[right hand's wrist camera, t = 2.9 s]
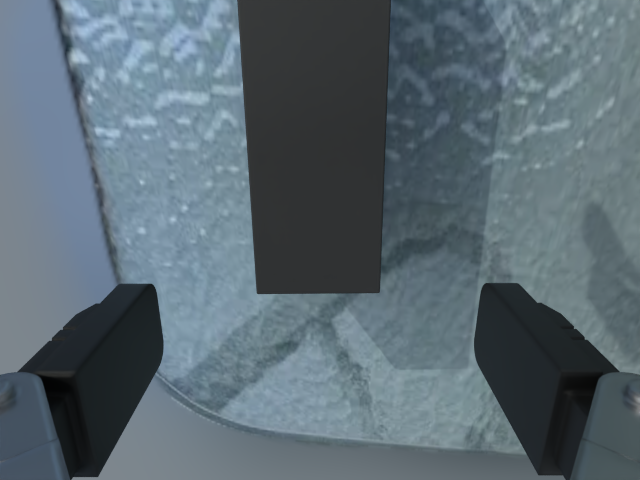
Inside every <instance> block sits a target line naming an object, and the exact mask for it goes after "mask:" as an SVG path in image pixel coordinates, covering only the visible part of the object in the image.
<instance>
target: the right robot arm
mask: <svg viewBox="0 0 640 480" xmlns="http://www.w3.org/2000/svg"><path fill="white" fill-rule="evenodd" d="M474 350H475V357H476V361H477V363H478V366H479V368H480V369H481V371H482V373H483V375H484V377H485V379H486V380H487V382H488V384H489V386H490V388H491V389H492V391H493V393H494V395H495V397H496V399H497V400H498V402H499V404H500V406H501V408H502V410H503V411H504V413H505V415H506V417H507V419H508V421H509V422H510V424H511V426H512V428H513V430H514V431H515V433H516V435H517V437H518V439H519V441H520V442H521V444H522V446H523V448H524V450H525V452H526V453H527V455H528V457H529V459H530V461H531V463H532V464H533V466H534V468H535V470H536V472H537V473H538V475H563V476H564V478H565V479H566V480H640V375H638V374H633V373H626V372H619V371H618V370H617V369H616V368H615V367H614V366H613V365H612V364H611V363H610V362H609V361H608V360H607V359H606V358H605V357H604V356H603V355H602V354H601V353H600V352H599V351H598V350H597V349H596V348H595V347H594V346H593V345H592V344H591V343H590V342H589V341H588V340H585V337H584V336H583V335H582V334H581V333H580V332H579V331H578V330H577V329H574V326H573V325H572V324H571V323H570V322H569V321H568V320H567V319H566V318H565V317H564V316H563V315H562V314H560V313H559V312H557V311H555V310H553V309H551V308H550V307H548V306H546V305H544V304H542V303H537V302H536V301H535V300H534V299H533V298H532V297H531V296H530V295H529V294H528V293H527V292H526V291H525V290H524V289H523V288H522V287H521V286H520V285H519V284H518V283H485V284H484V285H483V287H482V290H481V294H480V302H479V309H478V316H477V323H476V331H475V338H474ZM162 356H163V334H162V327H161V320H160V313H159V306H158V298H157V292H156V289H155V287H154V285H153V284H119V285H118V286H116V287H115V289H114V290H113V291H112V292H111V293H110V294H109V295H108V296H107V297H106V298H105V299H104V300H103V301H102V302H101V303H100V304H94V305H93V306H91V307H89V308H87V309H85V310H83V311H82V312H80V313H78V314H76V315H75V316H74V317H73V318H72V319H71V320H70V321H69V322H68V323H67V324H66V325H65V326H64V327H63V330H60V331H59V332H58V333H57V334H56V335H55V336H54V337H53V338H52V341H49V342H48V343H47V344H46V345H45V346H43V347H42V348H41V349H40V350H39V351H38V352H37V353H36V354H35V355H34V356H33V357H32V358H31V359H30V360H29V361H28V362H27V363H26V364H25V365H24V366H23V367H22V368H21V369H20V370H19V371H18V372H14V373H7V374H2V375H0V480H71V479H72V478H73V477H98V476H99V474H100V472H101V470H102V469H103V467H104V465H105V463H106V461H107V460H108V458H109V456H110V454H111V452H112V451H113V449H114V447H115V445H116V443H117V442H118V440H119V438H120V436H121V434H122V432H123V431H124V429H125V427H126V425H127V424H128V422H129V420H130V418H131V416H132V415H133V413H134V411H135V409H136V407H137V405H138V404H139V402H140V400H141V398H142V396H143V395H144V393H145V391H146V389H147V387H148V386H149V384H150V382H151V380H152V378H153V377H154V375H155V373H156V371H157V369H158V368H159V366H160V363H161V360H162Z"/></svg>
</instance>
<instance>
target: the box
mask: <svg viewBox="0 0 640 480" xmlns="http://www.w3.org/2000/svg"><path fill="white" fill-rule="evenodd" d="M237 1H238V17H239V32H240V47H241V62H242V77H243V92H244V107H245V122H246V137H247V153H248V168H249V183H250V198H251V213H252V228H253V243H254V258H255V273H256V289H257V294H314V293H379V292H380V273H381V247H382V220H383V194H384V167H385V141H386V115H387V88H388V62H389V35H390V9H391V0H237Z"/></svg>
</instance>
